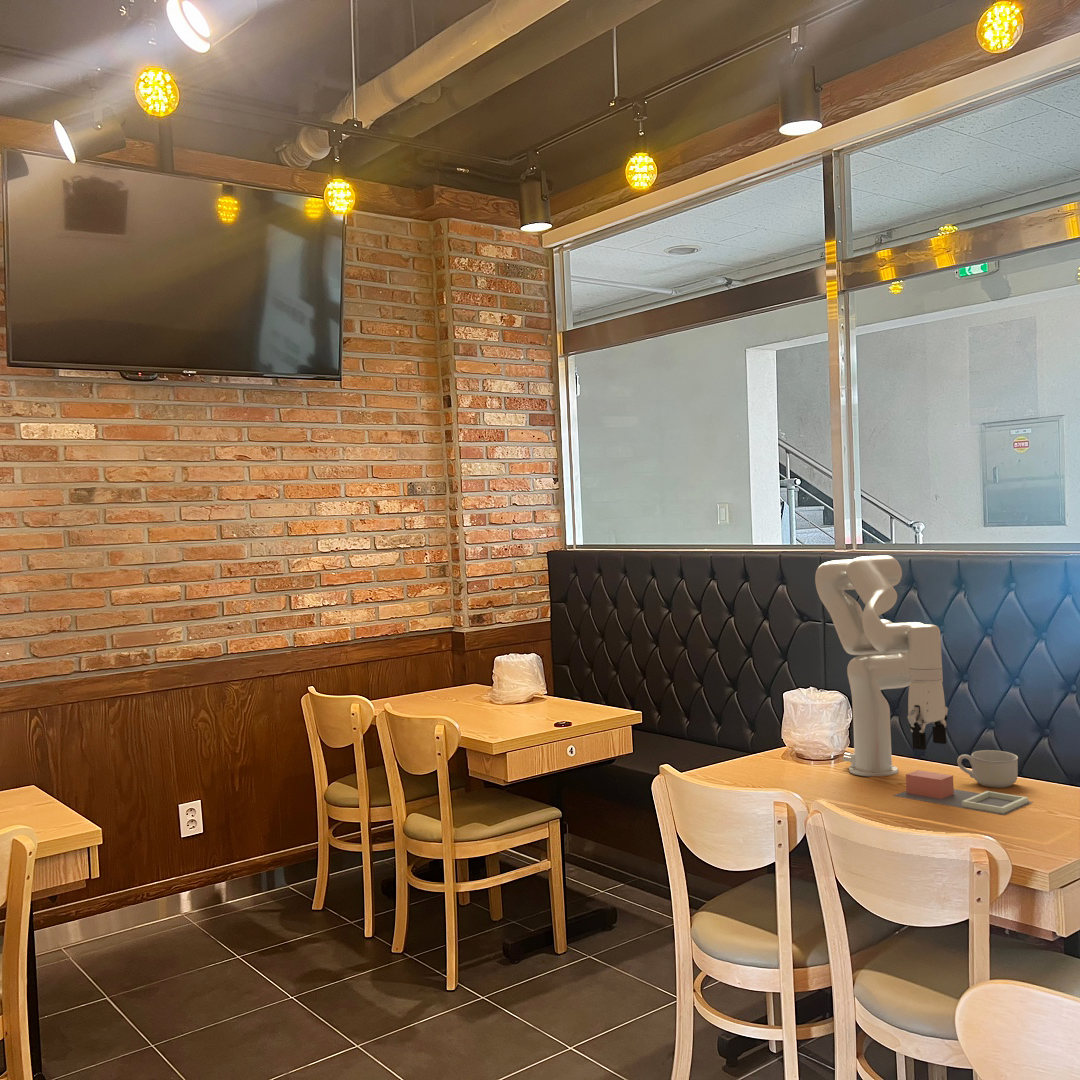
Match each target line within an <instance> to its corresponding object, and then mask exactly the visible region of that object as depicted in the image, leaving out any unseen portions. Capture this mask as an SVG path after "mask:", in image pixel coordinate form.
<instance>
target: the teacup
mask: <svg viewBox="0 0 1080 1080" xmlns="http://www.w3.org/2000/svg"><path fill="white" fill-rule="evenodd" d="M963 759H966V760H968V762H969V764H970V765H971V770H970V769H968V768H966V766H964V765H963V764H962V763H963V762H962V761H963ZM1018 760H1019V756H1018V755H1016V754H1014V753H1012V752H1009V751H1004V750H1003V751H1002V750H993V749H991V750H990V749H986V750H985V749H984V750H983V749H982V750H976V751H973V752H972V753H971V755H969V754H967V753H966V754H961V755H959V756H958V758H957V761H956V763H957V767H958V768H959V769H960V770H961V771H963V772H964V773H965V774H968V775H969V777H970V778H971V779H974V780H975V781H976V782H977V783H978V784H979V785H981V786H984V787H987V788H993V789H994V788H997V789H999V788H1000V789H1002V788H1009V787H1011V786H1012V785H1014V784H1015V783H1016V782H1017V780H1018V774H1019V772H1018V771H1019V769H1018V765H1019V764H1018V762H1019V761H1018Z"/></svg>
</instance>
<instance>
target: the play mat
mask: <svg viewBox="0 0 1080 1080" xmlns="http://www.w3.org/2000/svg"><path fill="white" fill-rule="evenodd" d="M981 793H982V792H981ZM981 793H980V792H974V791H968V790H962V789H955V788H954V794H953V795H950V796H947V797H945V798H942V799H940V798H934V797H928V796H922V795H917V794H911V793H907V792H906V790H905V791H902V792H900V793H896V794H894V795H892V796H893V797H898V798H904V799H910V800H915V801H920V802H927V803H931V804H936V805H937V804H939V805H943V806H949V807H955V808H959V809H964V810H965V809H966V810H972V811H976V812H977V811H978V812H982V813H987V814H995V815H1000V816H1007V815H1008V814H1010V813H1012V812H1015V811H1018V810H1020V809H1022V808H1024V807H1026V806H1029V805H1030V804H1032V803H1033V804H1034V801H1029V800H1028V803H1026V804H1024V805H1022V806H1019V807H1017V808H1015V809H1013V810H1010V811H1008V812H1006V813H1004V814H1003V813H997V812H992V811H986V810H980V809H975V808H969V807H963V806H962V801H963V800H966V799H968V798H971V797H973V796H976V795H978V794H981ZM1011 802H1014V801H1010V800H1004V799H998V798H992V797H988V798H986V799H983V800H981V801H978V802H976V803H981V804H987V805H993V806H999V807H1002V806H1005V805H1007V804H1009V803H1011Z"/></svg>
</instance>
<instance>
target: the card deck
mask: <svg viewBox="0 0 1080 1080" xmlns="http://www.w3.org/2000/svg"><path fill="white" fill-rule="evenodd" d="M905 787H906V790H905V791H906V792H907V793H911V794H917V795H922V796H928V797H934V798H940V799H942V798H945V797H947V796H950V795H953V794H954V789H955V788H954V775H952V774H946V773H939V772H933V771H926V770H922V769H921V770H920V769H918V770H914V771H911V772H909V773H908V772H907V773H906V774H905Z"/></svg>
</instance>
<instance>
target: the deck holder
mask: <svg viewBox="0 0 1080 1080" xmlns="http://www.w3.org/2000/svg"><path fill="white" fill-rule="evenodd" d="M988 797H992V798H998V799H1004V800H1010V801H1014V802H1011V803H1009V804H1007V805H1005V806H1002V807H999V806H993V805H987V804H981V803H976V802H978V801H981V800H983V799H986V798H988ZM1028 801H1029V797H1028V796H1022V795H1015V794H1008V793H1004V792H1003V793H1002V792H997V791H990V790H985V791H983V792H981V794H978V795H976V796H973V797H971V798H968V799H966V800H963V801H962V806H963V807H969V808H975V809H980V810H986V811H992V812H997V813H1003V814H1004V813H1006V812H1008V811H1010V810H1013V809H1015V808H1017V807H1019V806H1022V805H1024V804H1026V803H1028Z"/></svg>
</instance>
